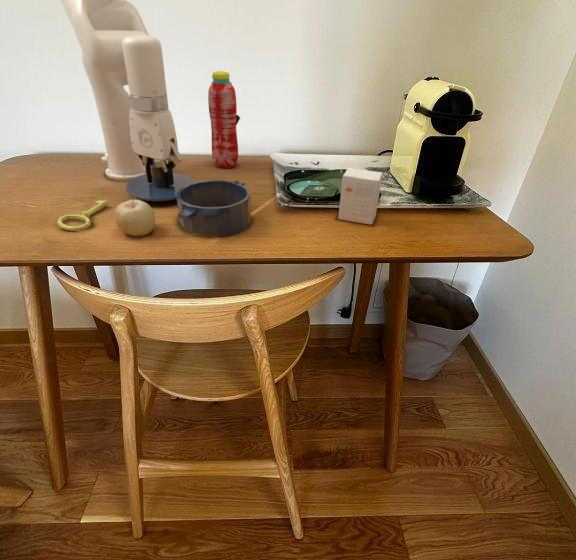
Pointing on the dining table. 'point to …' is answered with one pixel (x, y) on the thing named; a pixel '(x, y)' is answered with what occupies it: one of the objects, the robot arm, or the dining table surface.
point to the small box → (359, 195)
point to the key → (82, 217)
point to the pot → (214, 218)
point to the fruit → (135, 217)
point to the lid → (156, 185)
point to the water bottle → (223, 120)
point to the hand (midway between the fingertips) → (160, 182)
